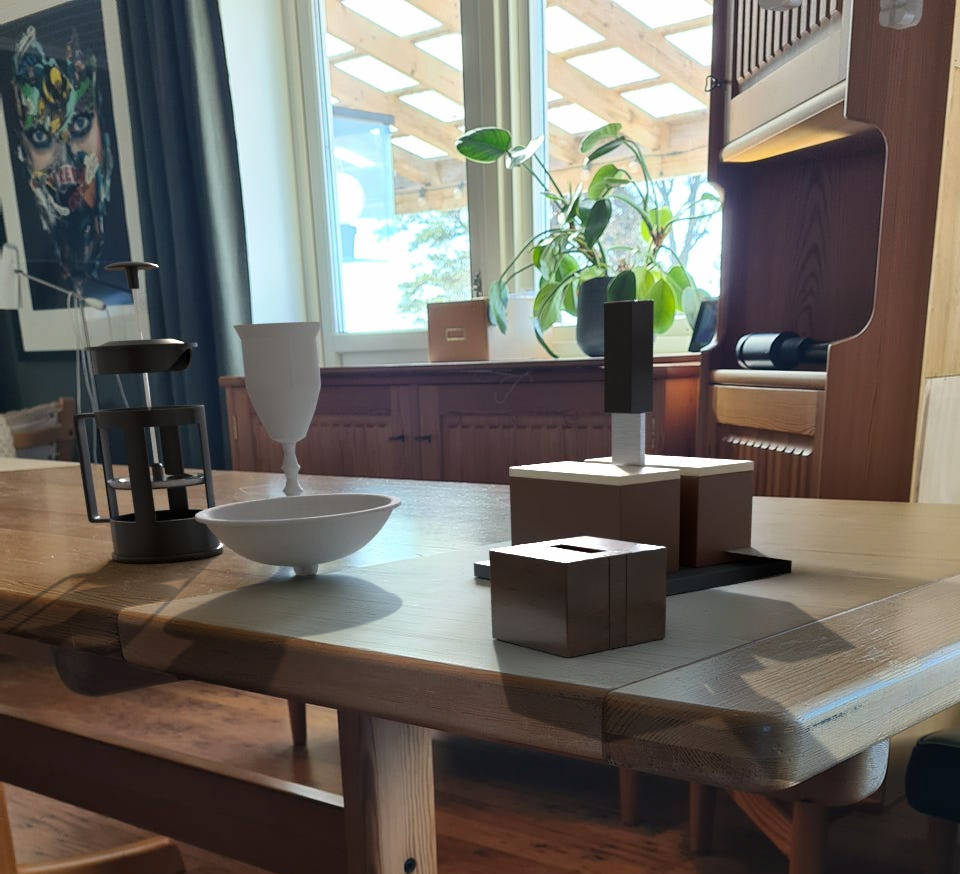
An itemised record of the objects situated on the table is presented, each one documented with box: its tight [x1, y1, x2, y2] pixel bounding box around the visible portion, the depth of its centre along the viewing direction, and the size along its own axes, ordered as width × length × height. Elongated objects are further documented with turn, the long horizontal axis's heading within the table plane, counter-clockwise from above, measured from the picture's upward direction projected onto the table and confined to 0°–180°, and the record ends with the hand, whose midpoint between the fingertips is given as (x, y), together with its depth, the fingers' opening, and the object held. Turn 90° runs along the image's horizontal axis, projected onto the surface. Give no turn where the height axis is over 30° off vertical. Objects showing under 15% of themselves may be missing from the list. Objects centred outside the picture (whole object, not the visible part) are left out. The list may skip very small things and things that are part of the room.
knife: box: [603, 299, 655, 467], centre depth 88 cm, size 2×3×17 cm, turn 35°
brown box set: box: [473, 454, 793, 596], centre depth 90 cm, size 16×16×8 cm
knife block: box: [488, 536, 667, 658], centre depth 72 cm, size 7×7×5 cm
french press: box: [72, 261, 224, 564], centre depth 106 cm, size 12×9×23 cm
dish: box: [195, 492, 402, 576], centre depth 97 cm, size 18×14×5 cm
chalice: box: [232, 321, 323, 497], centre depth 108 cm, size 7×7×18 cm
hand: (842, 17), depth 68 cm, fingers open, 8 cm apart
